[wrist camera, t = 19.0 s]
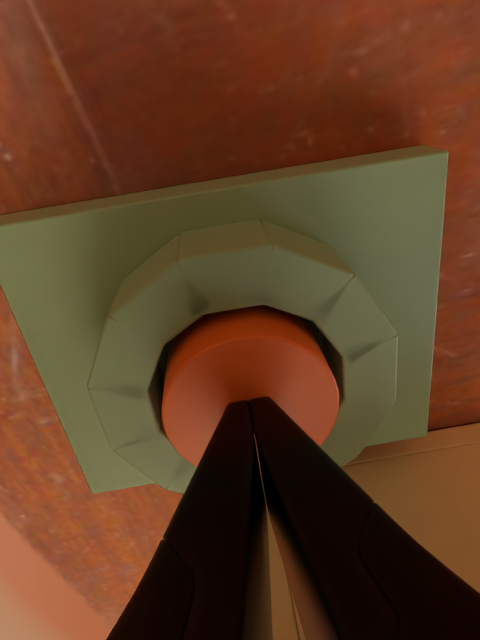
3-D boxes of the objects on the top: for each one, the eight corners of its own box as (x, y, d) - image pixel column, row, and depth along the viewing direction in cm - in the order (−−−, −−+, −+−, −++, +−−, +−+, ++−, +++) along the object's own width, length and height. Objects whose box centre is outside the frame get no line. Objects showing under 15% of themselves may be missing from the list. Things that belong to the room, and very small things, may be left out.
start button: (184, 436, 11) (182, 491, 10) (150, 311, 9) (141, 354, 8) (322, 412, 11) (342, 463, 10) (313, 284, 9) (336, 321, 8)
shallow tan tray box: (274, 652, 20) (301, 847, 15) (235, 464, 14) (257, 671, 9) (480, 616, 20) (578, 796, 15) (521, 414, 14) (701, 591, 9)
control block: (99, 464, 14) (77, 552, 11) (-3, 214, 10) (-74, 258, 7) (410, 410, 14) (460, 485, 11) (423, 144, 10) (503, 161, 7)
